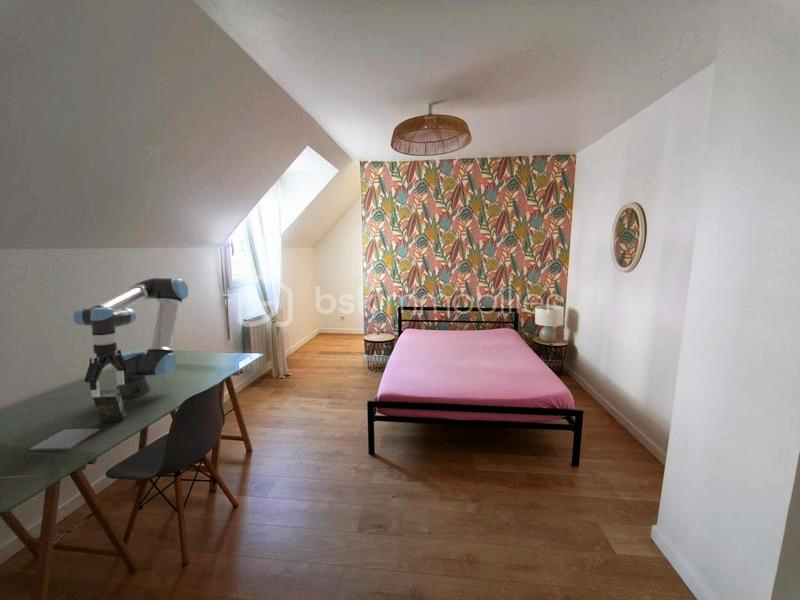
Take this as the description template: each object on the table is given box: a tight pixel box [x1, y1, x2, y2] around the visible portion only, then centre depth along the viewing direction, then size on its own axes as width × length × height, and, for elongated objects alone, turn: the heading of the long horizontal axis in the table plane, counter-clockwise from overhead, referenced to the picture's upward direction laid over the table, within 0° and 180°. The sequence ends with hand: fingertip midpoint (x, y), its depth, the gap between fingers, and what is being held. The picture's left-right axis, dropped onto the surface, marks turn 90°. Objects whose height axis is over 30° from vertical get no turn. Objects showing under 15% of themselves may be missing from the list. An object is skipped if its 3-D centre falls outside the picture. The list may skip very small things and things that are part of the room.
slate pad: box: [29, 428, 101, 451], centre depth 132 cm, size 14×14×1 cm
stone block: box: [92, 389, 127, 424], centre depth 146 cm, size 9×14×5 cm
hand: (109, 390), depth 145 cm, fingers open, 13 cm apart
